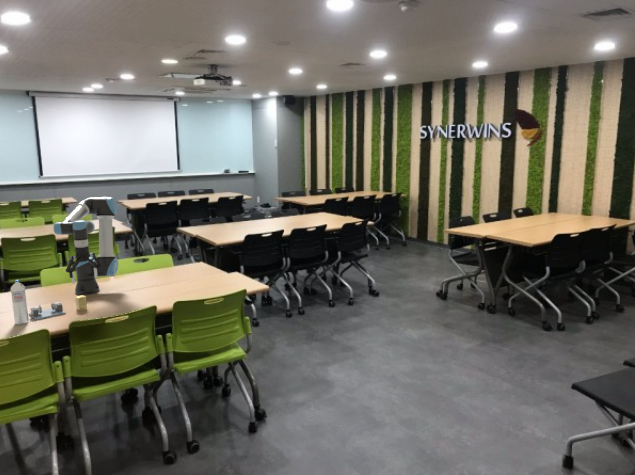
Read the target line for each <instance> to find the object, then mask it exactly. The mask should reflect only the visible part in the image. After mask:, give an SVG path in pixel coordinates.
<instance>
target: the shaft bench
mask: <svg viewBox="0 0 635 475" xmlns="http://www.w3.org/2000/svg"><path fill="white" fill-rule="evenodd" d="M29 310H30V312H28V316H30V317H31V318H32V319H33V320H35V321H40V320H44V319H45V320H46V319H49V318H53V316H54V317H57V315H58V316H62V315H65V314H67V313H66V311H64V307H63V303H62V302H61V301H58V302H51V303H50V308H47V309H43V308H42V306H41V305H38V306H35V307H34V306H33V307H30V309H29Z"/></svg>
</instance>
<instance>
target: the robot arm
mask: <svg viewBox="0 0 635 475" xmlns="http://www.w3.org/2000/svg"><path fill="white" fill-rule="evenodd" d="M118 207H119V206H118V203H117V201H116V199H115V198H114V197H112V196H101V197H100V196H99V197H97V196H95V197H87V198H84V199H82V200H80V201H79V202H78V203H76V205H75V206H74V207H73V210H72V211H71V212H70V213H69V214H68V215H67V216H66V217H65V218H64V219H63V220H62V221H61V222H60V221H59V222H55V223H54V224H53V233H54V234H55V235H58V236H59V235H62V236H63V235H73V242H74V243H73V244H74V251H75V255H70V256H69V261H68V263H67V266H66V268H65V272H66V273H68V275H69V278H71V283H72V284H75V282H76V285H75V287H74V292H75V294H77V295H90V294H95V293H98V292H99V291H100V285H99V284H98V281H97V280H98V277H114V276H115V275H116V274H117V272H118V270H119V260H118V259H117V258H116V255H115V254H114V252H113V249H114V245H113V243H114V242H113V238H114V237H113V236H114V235H113V219H114V218H115V216H116V215H117V214H118V211H119V209H118ZM90 215H95V216H96V218H97V219H98V246H99V247H98V255H97V256H96V253H95V252H93V251H92V252H90V247H89V238H88V234H91V233H92V232H94V230H95V229H96V228H95V224H94V222H92V221H90V220H84V219H83V218H84V217H87V216H90ZM74 271H75V272H74ZM75 275H76V281H75Z"/></svg>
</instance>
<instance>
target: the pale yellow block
mask: <svg viewBox="0 0 635 475" xmlns="http://www.w3.org/2000/svg"><path fill="white" fill-rule="evenodd" d="M75 306H76V310H77V311H79V312H80V311H85V310H88V307H87V306H88V305H87V296H86V295H85V294H80V295H78V296H75Z"/></svg>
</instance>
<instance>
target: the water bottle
mask: <svg viewBox="0 0 635 475" xmlns="http://www.w3.org/2000/svg"><path fill="white" fill-rule="evenodd" d="M14 282H15V283H13V284H12V285H11V286H10V291H11V301H12V302H11V303H12V312H13V319H14V324H15V325H17V326H22V325H25V324H28V323H29V311H28V303H27V296H26V286H25V285H24V284H23V283H21V282H20V279H16V280H15V279H14Z"/></svg>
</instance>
